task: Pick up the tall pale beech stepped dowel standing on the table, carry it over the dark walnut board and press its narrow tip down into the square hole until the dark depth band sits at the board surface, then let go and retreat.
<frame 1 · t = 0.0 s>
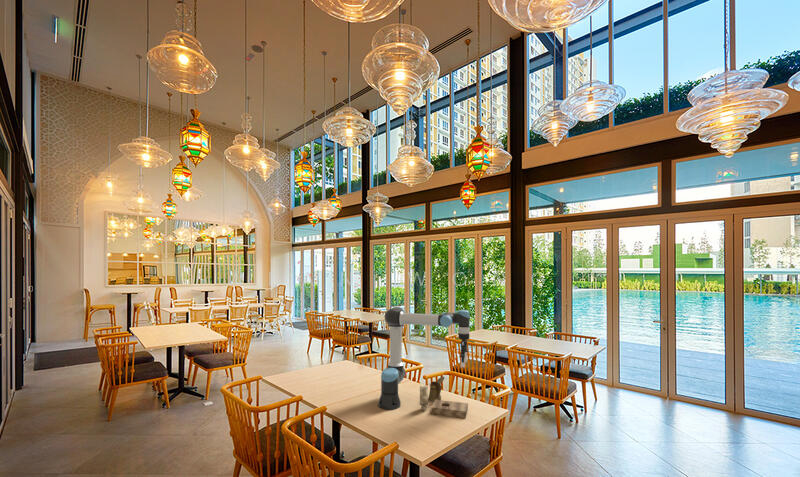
hand: (464, 364, 243), 28 cm above the table, fingers open, 13 cm apart
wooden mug: (436, 400, 253), on the table
dowel: (423, 409, 235), on the table
board: (449, 411, 232), on the table
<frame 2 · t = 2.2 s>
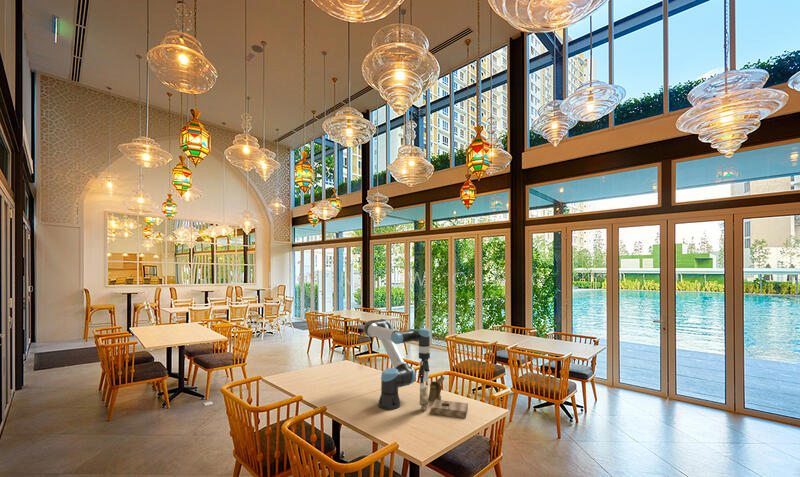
hand: (424, 384, 236), 16 cm above the table, fingers open, 13 cm apart
nothing on the table moved.
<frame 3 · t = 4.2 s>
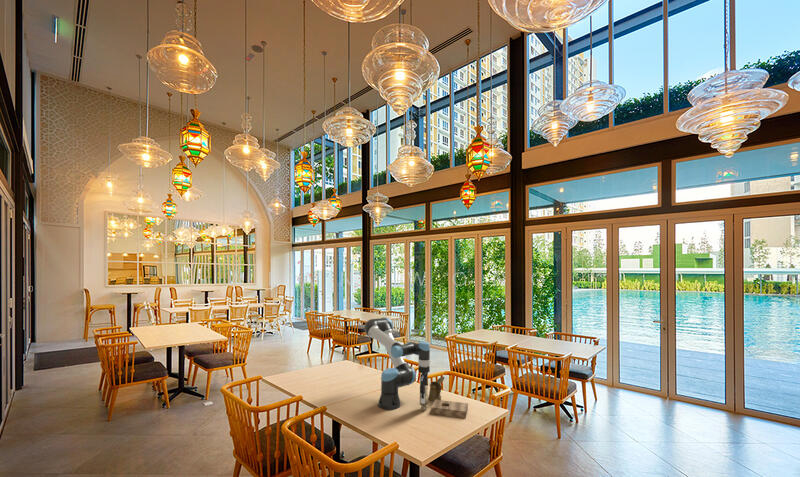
hand: (423, 401, 236), 5 cm above the table, fingers closed on dowel, 6 cm apart
dowel: (423, 409, 235), on the table, touching gripper
everything else where it was.
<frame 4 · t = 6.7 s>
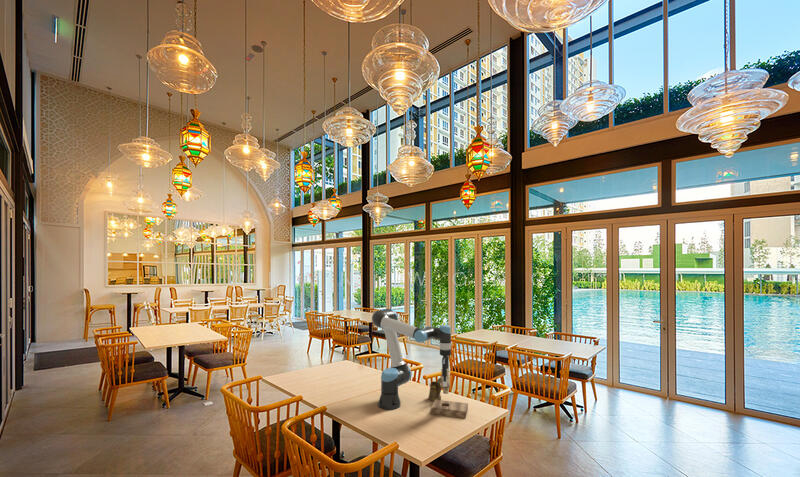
hand: (445, 384, 234), 17 cm above the table, fingers closed on dowel, 6 cm apart
dowel: (445, 392, 234), point 12 cm above the table, touching gripper
everything else where it was.
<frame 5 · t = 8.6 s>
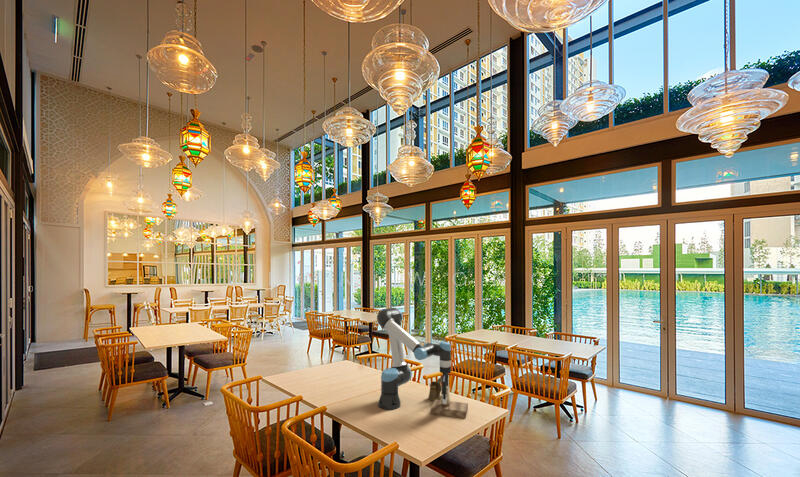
hand: (445, 402, 234), 6 cm above the table, fingers closed on dowel, 6 cm apart
dowel: (445, 410, 233), resting on board, touching gripper
everything else where it was.
when the fingers open (6 cm above the table, at t = 9.6 s): dowel stays where it is, resting on board.
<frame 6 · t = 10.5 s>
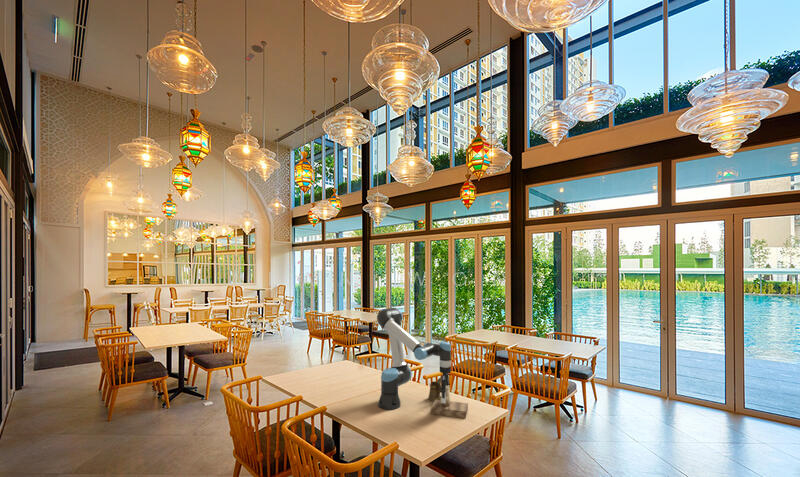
hand: (445, 399, 234), 8 cm above the table, fingers open, 13 cm apart
dowel: (445, 410, 233), resting on board
everything else where it was.
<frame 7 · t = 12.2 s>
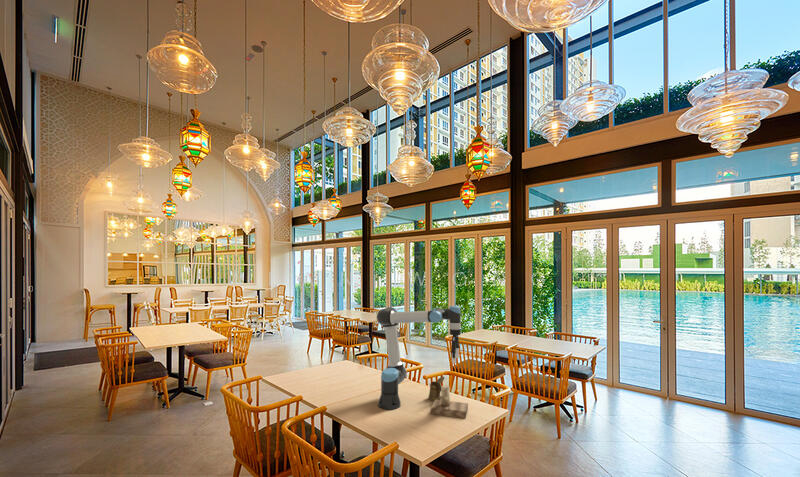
hand: (455, 360, 243), 31 cm above the table, fingers open, 13 cm apart
nothing on the table moved.
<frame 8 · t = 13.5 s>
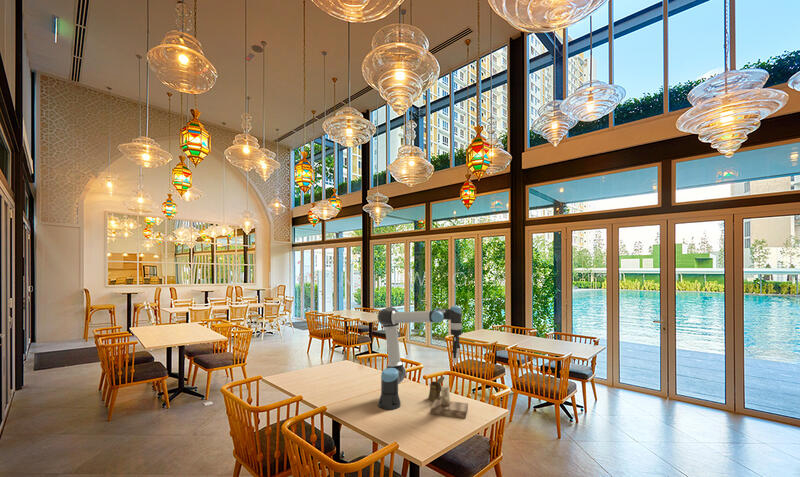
hand: (456, 360, 244), 31 cm above the table, fingers open, 13 cm apart
nothing on the table moved.
at the end: dowel 0.0 cm from the target spot on the board, point 0.4 cm above the board's base; dowel tilted 0°; the gripper is holding nothing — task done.
